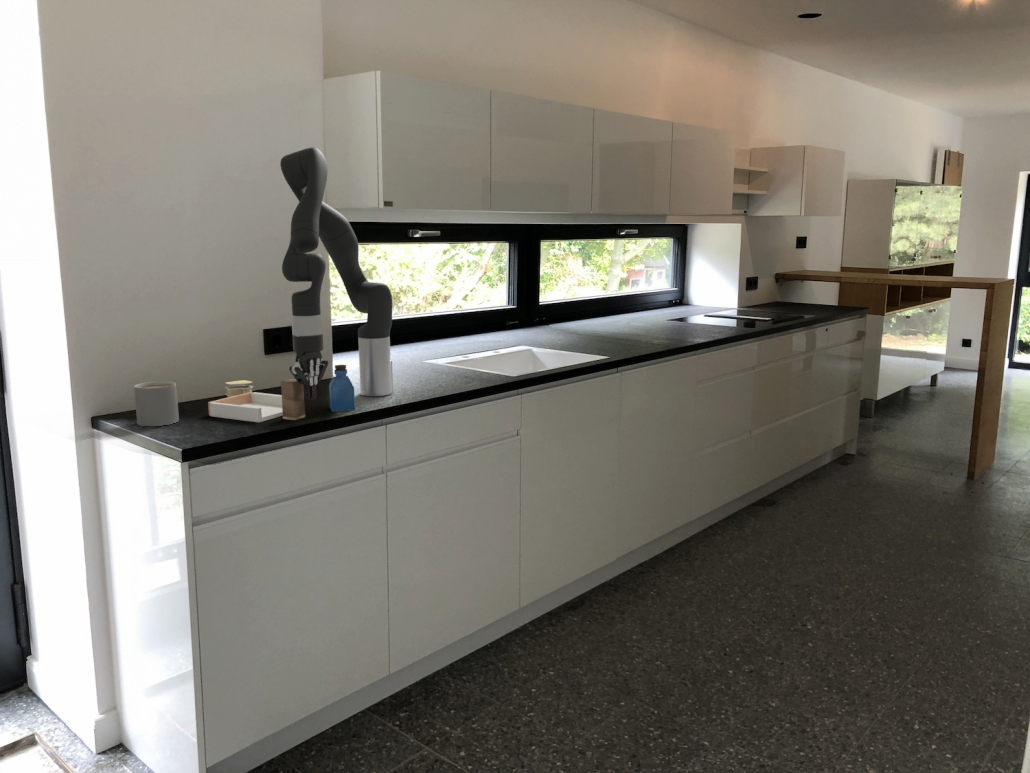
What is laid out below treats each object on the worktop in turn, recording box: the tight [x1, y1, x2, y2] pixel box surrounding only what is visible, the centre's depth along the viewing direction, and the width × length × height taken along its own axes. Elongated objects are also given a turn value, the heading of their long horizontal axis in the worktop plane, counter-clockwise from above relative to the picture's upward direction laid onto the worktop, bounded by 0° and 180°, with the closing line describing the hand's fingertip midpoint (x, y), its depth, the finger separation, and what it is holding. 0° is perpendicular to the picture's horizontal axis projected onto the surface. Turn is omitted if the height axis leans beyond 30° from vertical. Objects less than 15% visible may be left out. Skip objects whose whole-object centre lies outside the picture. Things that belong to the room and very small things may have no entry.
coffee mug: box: [133, 380, 180, 427], centre depth 219 cm, size 13×10×10 cm
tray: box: [207, 391, 283, 423], centre depth 229 cm, size 16×18×4 cm
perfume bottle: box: [328, 364, 356, 413], centre depth 233 cm, size 6×6×12 cm
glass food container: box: [224, 379, 254, 398], centre depth 247 cm, size 10×9×6 cm
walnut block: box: [280, 378, 306, 421], centre depth 222 cm, size 4×4×10 cm
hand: (311, 399), depth 219 cm, fingers closed
